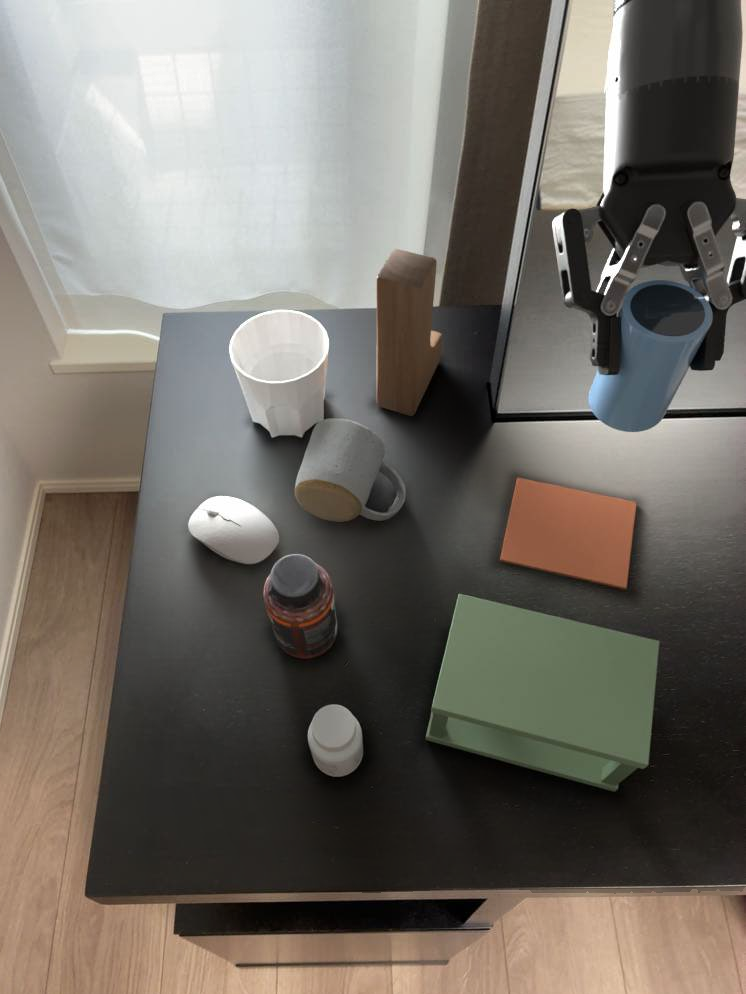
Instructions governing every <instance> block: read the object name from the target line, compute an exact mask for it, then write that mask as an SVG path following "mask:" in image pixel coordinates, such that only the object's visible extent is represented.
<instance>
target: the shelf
mask: <svg viewBox="0 0 746 994" xmlns="http://www.w3.org/2000/svg"><path fill="white" fill-rule="evenodd" d="M659 649H660V641H659V640H656V639H651V638H647V637H643V636H639V635H634V634H630V633H626V632H623V631H618V630H614V629H609V628H605V627H602V626H597V625H592V624H588V623H584V622H580V621H575V620H572V619H568V618H564V617H559V616H555V615H550V614H546V613H542V612H538V611H533V610H529V609H525V608H521V607H517V606H512V605H508V604H505V603H500V602H497V601H491V600H487V599H484V598H479V597H475V596H470V595H466V594H462V593H458V595H457V598H456V604H455V607H454V613H453V616H452V621H451V625H450V628H449V632H448V637H447V641H446V645H445V649H444V654H443V658H442V662H441V667H440V671H439V675H438V679H437V684H436V688H435V692H434V696H433V700H432V703H431V704H432V705H431V709H430V711H431V712H430V718H429V721H428V726H427V730H426V733H425V741H428V742H431V743H435V744H439V745H443V746H447V747H451V748H454V749H458V750H461V751H465V752H468V753H472V754H475V755H479V756H483V757H486V758H491V759H493V760H497V761H501V762H505V763H509V764H511V765H512V764H513V765H516V766H520V767H523V768H526V769H530V770H534V771H538V772H541V773H545V774H547V775H552V776H556V777H559V778H563V779H567V780H571V781H574V782H577V783H582V784H585V785H589V786H591V787H596V788H599V789H604V790H607V791H611V792H616V791H618V790H619V785H620V783H621V782H622V781H624V780H625V779H626V778H627V777H628V776H630V775H631V774H633V772H635V771H636V770H637V769H643V770H644V769H646V768H647V767H648V766H649V762H650V754H651V753H650V752H651V741H652V729H653V718H654V707H655V696H656V684H657V672H658V663H659V651H660V650H659Z"/></svg>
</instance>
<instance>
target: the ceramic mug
mask: <svg viewBox="0 0 746 994" xmlns="http://www.w3.org/2000/svg"><path fill="white" fill-rule="evenodd" d="M385 455H386V448H385V443H384V442H383V441H382V439H381V437H380V436H378V435H377V434H376V433H375V432H374V431H373V430H371V429H370V428H369V427H367V426H365V425H363V424H361V423H359V422H356V421H354V420H350V419H346V418H341V417H340V418H339V417H334V418H333V417H332V418H331V417H330V418H324V420H323V421H321V422H319V423H316V424H315V426H314V427H313V429H312V431H311V435H310V438H309V441H308V444H307V447H306V449H305V452H304V455H303V459H302V461H301V465H300V467H299V470H298V473H297V476H296V480H295V485H294V496H295V498H296V501H297V502H298V504H299V505H300V506H301V507H302V508H303V510H305V511H307V513H309V514H311V515H313V516H315V517H317V518H319V519H323V520H325V521H330V522H339V523H340V522H348V521H352V520H354V519H356V518H357V517H358V516H359V515H360V516H362V517H364V518H365V519H368V520H373V521H387V520H389V519H391V518H392V517H394V516H395V515H396V514H397V513H398V512H399V511H400V510H401V509H402V507H403V506H404V503H405V501H406V495H407V490H406V485H405V483H404V481H403V479H402V477H401V476H400V474H398V472H397V471H396V470H395V469H393V467H391V466H390V465H389V464H387V463H386V462H385V461H384V457H385ZM379 472H380V473H381V474H382V475H383V476H385V477H386V478H387V479H388V480H390V482H391V483H392V485H393V486H394V488H395V490H396V497H395V499H394V502H393V504H392V505H391V506H389V508H388V511H386V512H379V511H375V510H373V509H371V508H368V507H367V506H366V504H367V502H368V500H369V498H370V494H371V491H372V488H373V485H374V483H375V481H376V479H377V477H378V474H379Z"/></svg>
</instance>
